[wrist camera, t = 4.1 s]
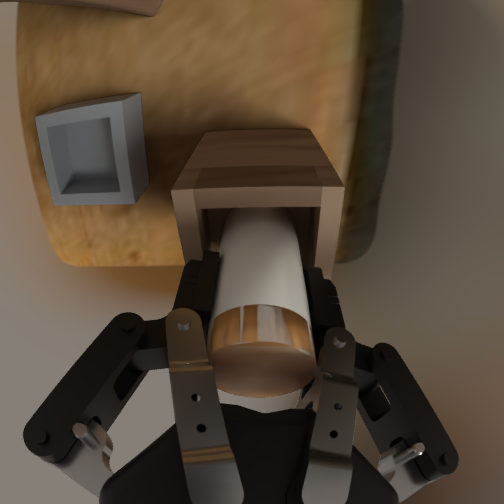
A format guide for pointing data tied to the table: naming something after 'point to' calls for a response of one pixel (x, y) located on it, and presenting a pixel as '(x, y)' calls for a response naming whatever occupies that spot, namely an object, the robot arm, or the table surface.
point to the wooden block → (107, 5)
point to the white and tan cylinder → (260, 307)
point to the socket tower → (260, 189)
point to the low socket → (95, 151)
